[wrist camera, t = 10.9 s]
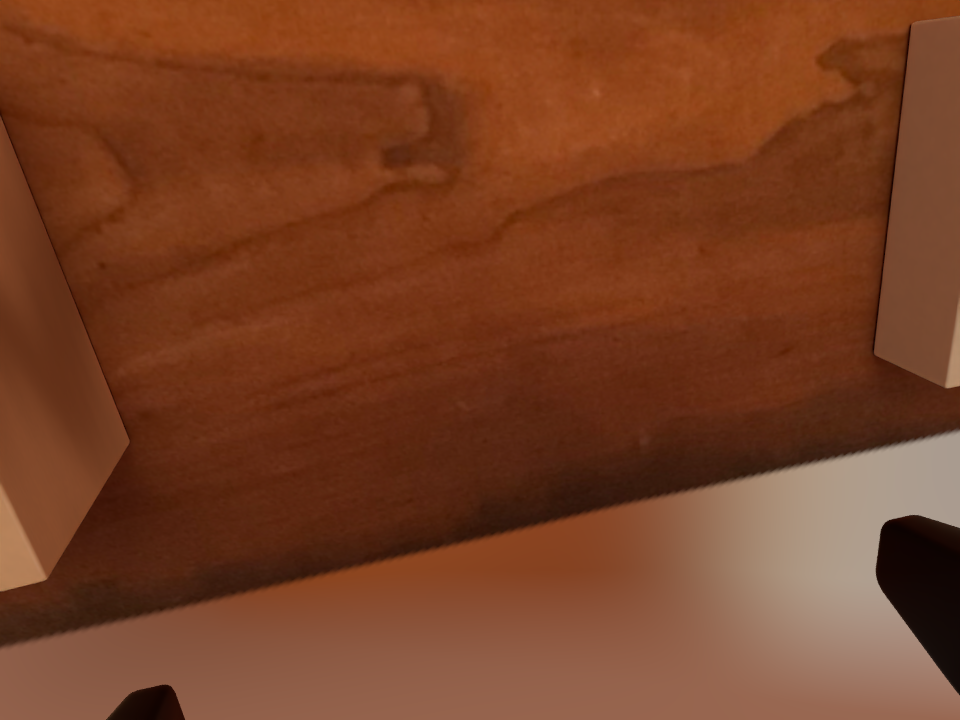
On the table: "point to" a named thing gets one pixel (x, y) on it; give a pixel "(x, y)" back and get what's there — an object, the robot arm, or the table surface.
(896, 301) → the copier
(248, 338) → the table surface
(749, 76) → the table surface
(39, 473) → the riser
